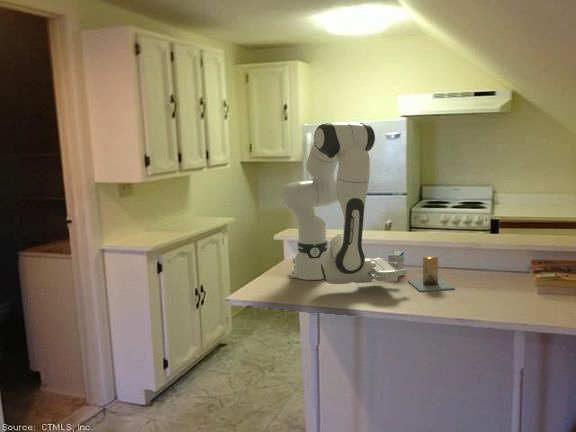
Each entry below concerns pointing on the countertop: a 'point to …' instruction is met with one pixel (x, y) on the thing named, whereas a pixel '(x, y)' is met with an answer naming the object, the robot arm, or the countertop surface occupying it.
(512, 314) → the countertop surface
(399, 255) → the medicine box
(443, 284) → the mat
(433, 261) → the tea tin
